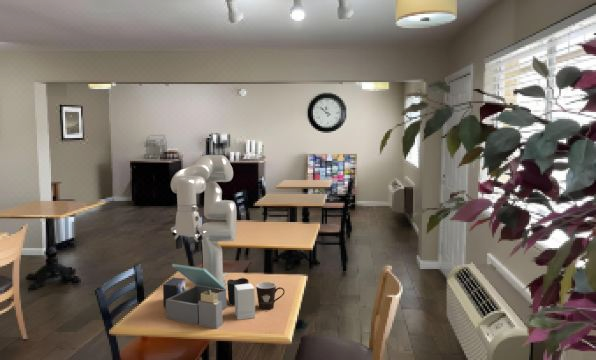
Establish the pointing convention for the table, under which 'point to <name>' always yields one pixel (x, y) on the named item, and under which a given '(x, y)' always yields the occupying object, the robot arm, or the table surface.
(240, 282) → the pen holder
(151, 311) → the table surface
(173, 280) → the small box
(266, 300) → the coffee mug
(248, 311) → the supplement box
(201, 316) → the storage box
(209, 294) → the latch bolt
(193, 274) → the lid
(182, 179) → the robot arm
